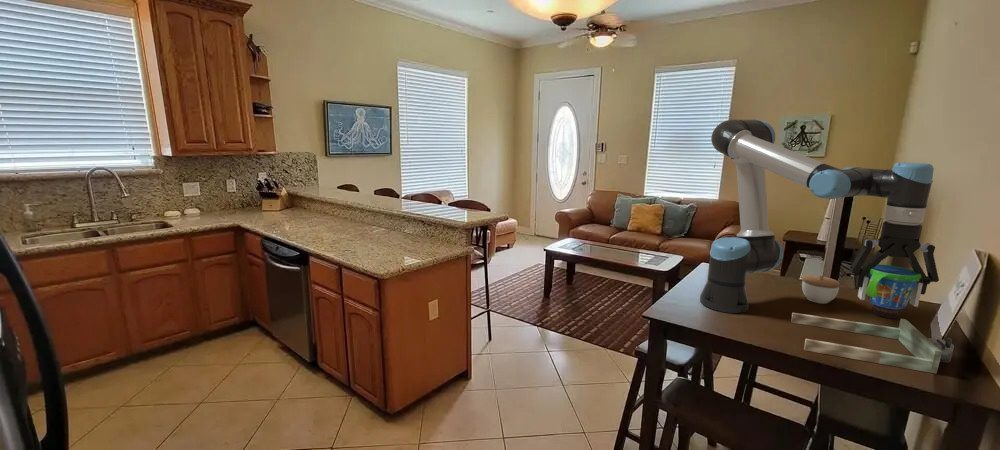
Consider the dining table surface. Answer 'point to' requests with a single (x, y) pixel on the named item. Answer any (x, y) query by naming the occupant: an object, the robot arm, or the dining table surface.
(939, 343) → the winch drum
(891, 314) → the can
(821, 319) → the bay
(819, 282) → the lidded jar
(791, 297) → the dining table surface
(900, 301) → the snack cup
